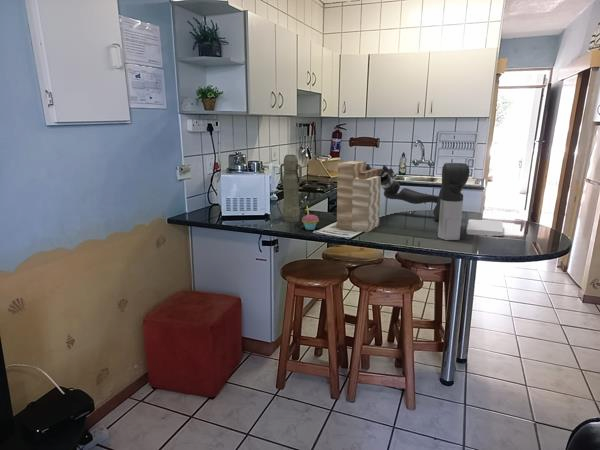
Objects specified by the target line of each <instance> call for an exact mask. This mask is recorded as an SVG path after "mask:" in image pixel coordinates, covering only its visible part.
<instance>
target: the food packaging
mask: <svg viewBox="0 0 600 450" xmlns="http://www.w3.org/2000/svg"><path fill="white" fill-rule="evenodd" d="M503 227H504V226H503V221H502V220H501V221H500V220H486V219H485V220H484V219H472V218H471V219H470V218H469V219H468V224H467V225H466V233H465V234H466V235H472V236H485V237H503V235H504V228H503Z"/></svg>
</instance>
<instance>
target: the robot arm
mask: <svg viewBox="0 0 600 450" xmlns="http://www.w3.org/2000/svg"><path fill="white" fill-rule="evenodd" d="M376 168H377V167H371V165H370V164H367V163H366V171H368V170H372V169H376ZM394 175H395V172H394V169H393V168H389V167H387V166H386V164H383V165H382V172H381V175H378V176H381V185H380V187H381V188H382V189H383V195H384V197H385V198H386V199H389V200H400V201H403V202H407V203H409V204H413V205H419V204H425V203H426V204H427V203H433V204H436V205H434V208H433V210H432V211H433V212H432V214H433V216H434V217H435V218H436V219H437V220H438V229H437V237H438V238H439V239H442V240H445V241H460V238H461V227H462V216H463V203H464V194H463V193H462V190H463V188H464V187H465V185H466V184H467V182H468V180H469V177H470V167H469V165H468V164H466V163H463V162H445V163H444V164H443V166H442V169H441V186H440V187H441V188H440V190H439V193H438V195H434V194H428V193H423V192H419V191H417V190H416V191H415V190H414V189H410V188H407V187H404V188H402V189H401V190H400V188H401V184H400V183H399V182H397V181H396V180H393V178H394Z"/></svg>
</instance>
